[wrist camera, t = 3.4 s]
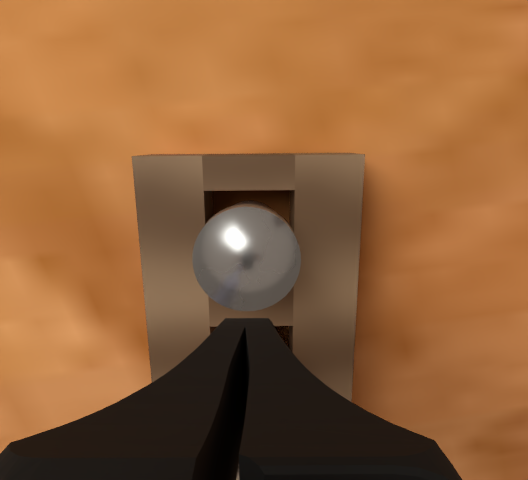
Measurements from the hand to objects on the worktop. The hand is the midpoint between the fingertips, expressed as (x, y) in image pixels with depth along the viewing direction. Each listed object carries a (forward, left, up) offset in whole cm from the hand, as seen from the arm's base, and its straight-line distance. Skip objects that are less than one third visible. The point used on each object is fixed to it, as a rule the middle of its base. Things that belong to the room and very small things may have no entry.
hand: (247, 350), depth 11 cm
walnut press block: (-5, 0, -10) cm, 11 cm away
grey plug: (+2, 0, -8) cm, 8 cm away
